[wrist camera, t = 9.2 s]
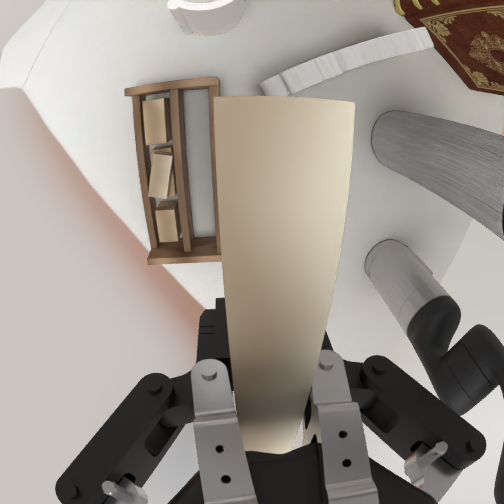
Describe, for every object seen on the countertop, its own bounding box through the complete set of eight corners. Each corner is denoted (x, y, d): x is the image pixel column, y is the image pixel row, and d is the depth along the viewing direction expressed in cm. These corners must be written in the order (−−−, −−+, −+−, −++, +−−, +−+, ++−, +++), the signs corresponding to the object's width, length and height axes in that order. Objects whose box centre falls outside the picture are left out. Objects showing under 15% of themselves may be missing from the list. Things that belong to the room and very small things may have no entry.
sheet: (266, 102, 15) (355, 102, 4) (263, 335, 23) (284, 469, 13) (223, 103, 14) (213, 97, 4) (235, 337, 23) (244, 473, 13)
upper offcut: (175, 153, 36) (172, 156, 34) (169, 194, 38) (166, 199, 37) (156, 150, 35) (153, 153, 33) (151, 191, 38) (148, 196, 36)
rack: (219, 81, 33) (218, 76, 28) (226, 241, 46) (226, 261, 41) (138, 90, 33) (124, 88, 28) (156, 245, 45) (148, 264, 40)
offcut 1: (170, 98, 34) (163, 98, 30) (172, 138, 37) (166, 142, 33) (151, 101, 34) (142, 101, 30) (154, 140, 37) (145, 145, 33)
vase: (375, 173, 42) (495, 259, 19) (365, 114, 37) (506, 153, 14) (421, 163, 41) (541, 232, 18) (415, 107, 36) (551, 145, 13)
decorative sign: (266, 99, 37) (274, 104, 25) (258, 84, 36) (261, 81, 24) (395, 50, 31) (450, 44, 19) (388, 36, 30) (441, 23, 17)
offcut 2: (178, 200, 42) (174, 209, 38) (181, 229, 44) (178, 241, 41) (160, 201, 42) (155, 210, 38) (164, 230, 44) (159, 242, 41)
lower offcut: (174, 144, 38) (171, 147, 35) (178, 190, 41) (175, 196, 39) (156, 146, 38) (151, 150, 35) (160, 191, 41) (156, 197, 38)
